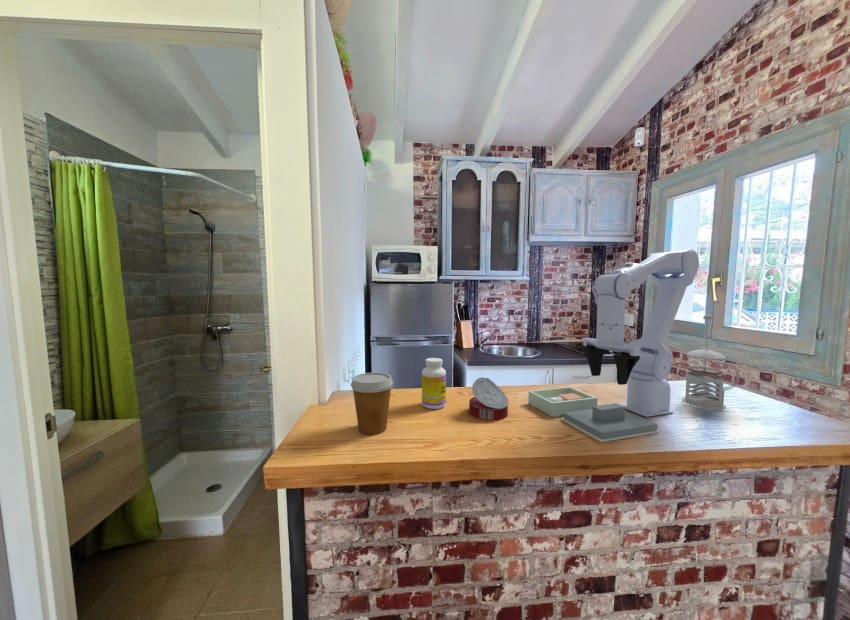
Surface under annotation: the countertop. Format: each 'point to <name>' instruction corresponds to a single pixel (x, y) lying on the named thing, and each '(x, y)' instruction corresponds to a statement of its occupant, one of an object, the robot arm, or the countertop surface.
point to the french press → (706, 380)
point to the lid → (609, 421)
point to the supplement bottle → (433, 384)
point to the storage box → (561, 400)
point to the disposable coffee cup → (372, 401)
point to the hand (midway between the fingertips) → (608, 379)
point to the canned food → (488, 401)
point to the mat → (608, 438)
